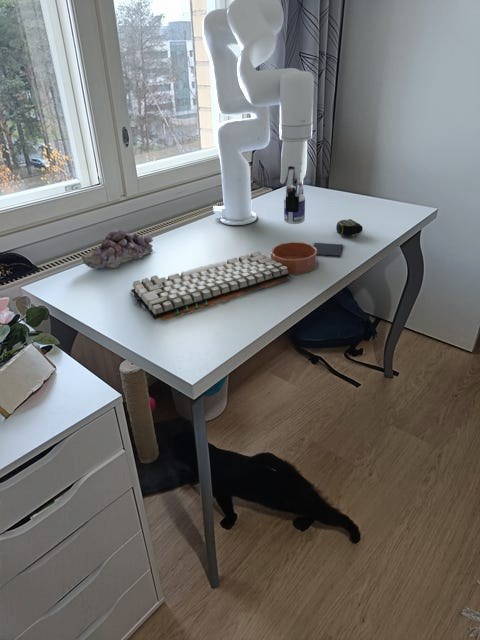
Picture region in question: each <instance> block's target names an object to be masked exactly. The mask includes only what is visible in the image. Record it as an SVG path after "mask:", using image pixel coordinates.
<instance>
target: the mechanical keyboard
mask: <svg viewBox="0 0 480 640" xmlns="http://www.w3.org/2000/svg"><path fill="white" fill-rule="evenodd" d="M287 273H288V270H287V267H286V266H282V264H281V263H277V262H276V261H274V260H273V261H272V259H271V257H268V256H267V255H266V254H264V253H262V252H261V251H260V250H258V251H255V252H251V253H250V254H248V253H247V254H244V255H240V256H239V257H233V258H229V259H227V261H226V260H220V261H217V262H213V263H209V264H206V265H202V266H198V267H195V268H191V269H188V270H183V271H182V272H181V273H178V272H177V273H174V274H170V275H168V276H167V278H166V277H164V276H162V277H160V278H159V276H158V275H157V274H156V275H152V276H150V278H148V277H144V278H142V279H141V280H139V279H138V280H133V283H132V289H130V291H131V293H132V294H133V298H134V299H135V300H136V304H138V305H139V307H141V308H143V309H144V310H146V311H147V313H148V314H149V315H150V316H151V317H152V319H154V320H160V321H162V322H166V321H168V320H172V319H175V318H178V317H180V316H185V315H187V314H190V313H192V312H197V311H200V310H202V309H206V308H208V307H212V306H215V305H217V303H220V302H221V303H225V302H227V301H230V300H233V299H236V298H237V297H239V296H243V295H246V294H249V293H252V292H253V293H254V292H256V291H260V290H264V289H266V288H268V287H272V286H276V285H277V284H282V283H285V282H287V281H289V280H290V277H291V276H292V275H291V274H287Z"/></svg>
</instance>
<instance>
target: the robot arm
mask: <svg viewBox="0 0 480 640" xmlns="http://www.w3.org/2000/svg"><path fill="white" fill-rule="evenodd" d="M284 19H285V15H284V9H283V6H282V4H281V2H280V1H279V0H233V1H232V2H231V3H230V4H229V6H228V8H227V7H226V8H217V9H213V10H210V11H209V12H207V13H206V14H205V15H204V17H203V19H202V25H201V26H202V27H201V30H202V31H201V33H202V40H203V44H204V47H205V50H206V53H207V55H208V59H209V61H210V65H211V69H212V70H211V71H212V79H213V88H214V96H215V103H216V108H217V111H218V112H219V114H221V115H222V116H239V115H247V114H248V115H249V114H250V117H248V118H239V119H229V120H226V121H223V122H221V123H219V124H218V125H217V126H216V128H215V130H214V131H215V132H214V137H215V142H216V146H217V151H218V156H219V163H220V164H219V165H220V175H221V187H222V200H223V205H221V206H218V205H214V206H213V207H212V212H213V214H214V215H215V214H220V216H219V220H220V222H221V223H222V224H225V225H229V226H243V225H248V224H252V223H253V222H255V221H256V220H257V215H258V214H257V213H256V212H254V211H253V203H252V183H251V180H252V179H251V166H250V164H249V162H248V160H247V159H246V158H245V157H244V156H243V153H244V152H250V151H258V150H262V149H265V148H267V147H268V146H269V144H270V142H271V125H270V123H271V122H270V109H269V107H271V106H279V140H280V141H282V145H281V157H280V181H279V183H280V184H281V185H284V184H285V183H286V189H285V196H286V212H298V211H299V196H298V186H299V185H302V186H303V187H304V179H305V178H306V175H307V167H308V141H310V140H312V138H313V120H314V94H315V93H314V91H315V77H314V75H313V73H312V72H311V71H308V70H307V71H306V70H300V69H298V68H296V67H295V68H294V67H287V68H273V69H261V70H257V69H256V68H258V67H259V66H260V65H262V64H264V63H265V62H267V61H268V60H269V59H270V58H271V57H272V55H273V54H274V52H275V49H276V46H277V39H276V35H278V34H279V33H280V32H281V30H282V29H283V26H284ZM231 45H238V46H239V48H240V50H241V52H240V54H239V57H238V55H237V54H236V52H235V51H234V50H233V49H232V47H230V46H231ZM293 186H296V188H293ZM302 194H303V195H304V191H303V192H302Z"/></svg>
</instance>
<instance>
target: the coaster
mask: <svg viewBox="0 0 480 640" xmlns="http://www.w3.org/2000/svg"><path fill="white" fill-rule="evenodd" d="M313 246H314V247H315V248H316V249H317V256H320V257H321V256H322V257H323V256H324V257H340V256H341V253H342V249H343V244H341V243H327V242H326V243H324V242H314V244H313Z"/></svg>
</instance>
